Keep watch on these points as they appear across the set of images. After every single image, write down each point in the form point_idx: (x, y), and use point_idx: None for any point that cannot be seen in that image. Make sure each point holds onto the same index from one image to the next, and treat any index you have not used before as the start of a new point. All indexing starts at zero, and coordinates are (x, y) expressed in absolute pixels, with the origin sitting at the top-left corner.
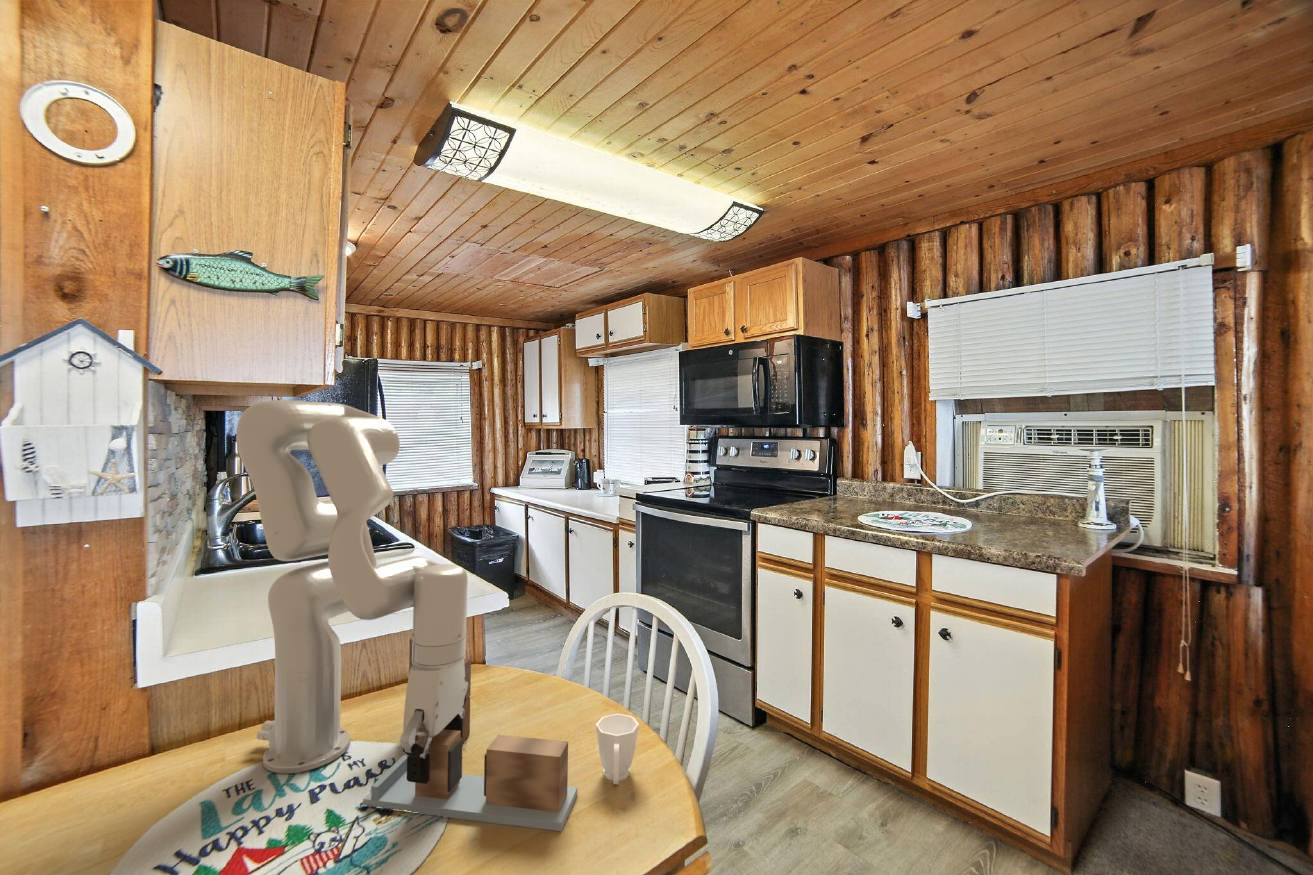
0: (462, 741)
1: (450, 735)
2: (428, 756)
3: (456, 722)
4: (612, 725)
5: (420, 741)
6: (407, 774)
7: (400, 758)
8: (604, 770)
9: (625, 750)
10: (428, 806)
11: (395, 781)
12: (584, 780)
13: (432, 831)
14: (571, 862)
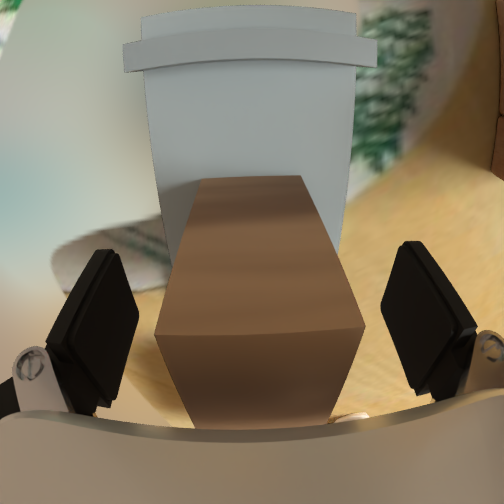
0: (496, 175)
1: (280, 421)
2: (98, 404)
3: (419, 377)
4: None
5: (173, 354)
6: (89, 265)
7: (350, 37)
8: (353, 416)
9: None
10: (170, 245)
11: (260, 60)
12: (334, 406)
13: (130, 270)
14: (170, 422)
